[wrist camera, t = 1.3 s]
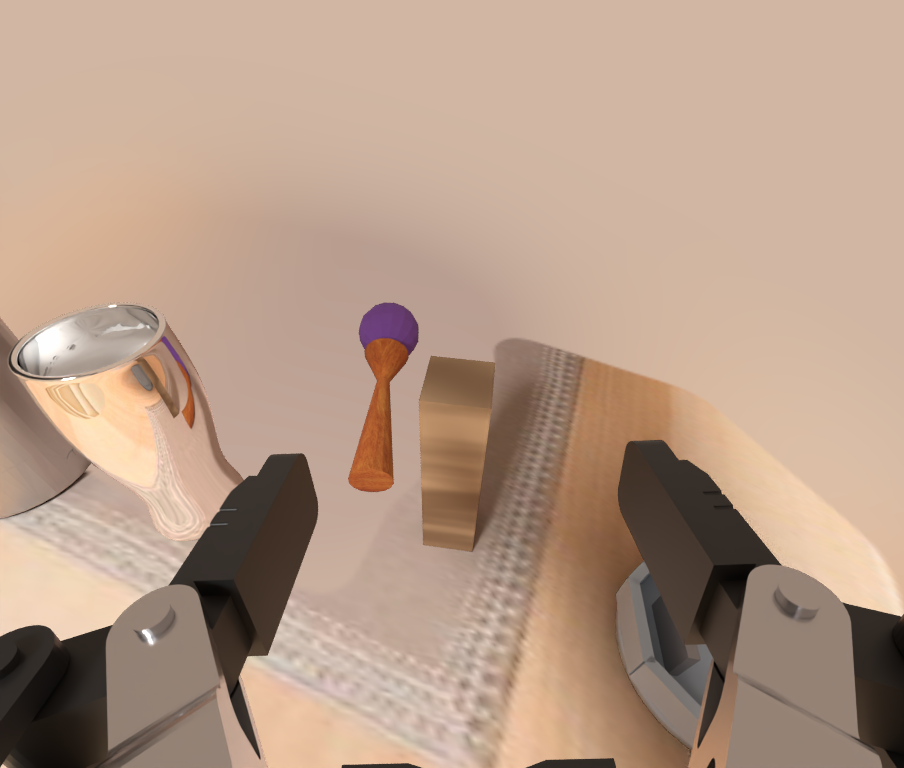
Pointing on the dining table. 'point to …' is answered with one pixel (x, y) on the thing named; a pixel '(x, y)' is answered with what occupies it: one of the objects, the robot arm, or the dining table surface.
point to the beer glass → (131, 409)
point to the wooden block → (453, 448)
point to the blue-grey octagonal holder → (660, 657)
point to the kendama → (381, 391)
